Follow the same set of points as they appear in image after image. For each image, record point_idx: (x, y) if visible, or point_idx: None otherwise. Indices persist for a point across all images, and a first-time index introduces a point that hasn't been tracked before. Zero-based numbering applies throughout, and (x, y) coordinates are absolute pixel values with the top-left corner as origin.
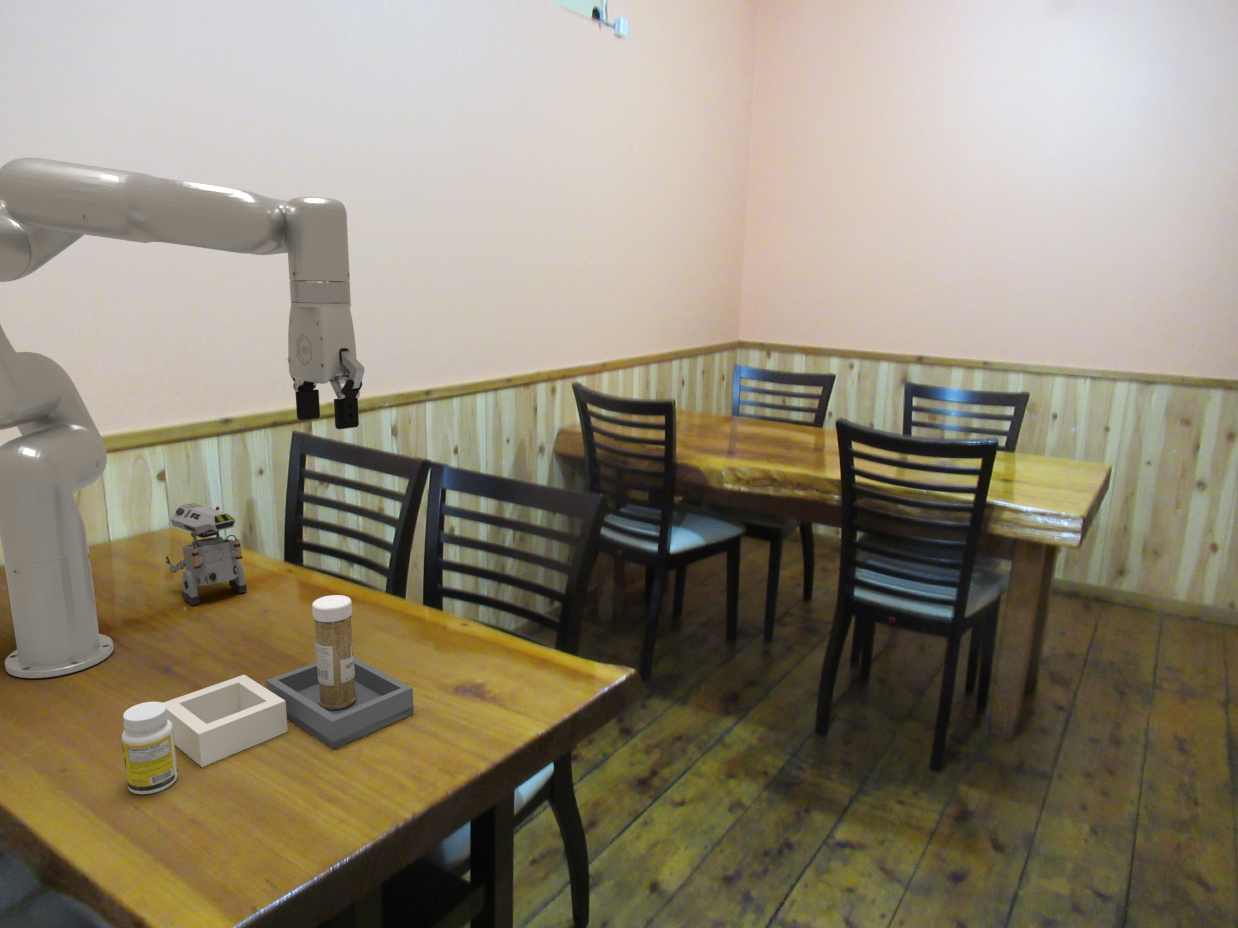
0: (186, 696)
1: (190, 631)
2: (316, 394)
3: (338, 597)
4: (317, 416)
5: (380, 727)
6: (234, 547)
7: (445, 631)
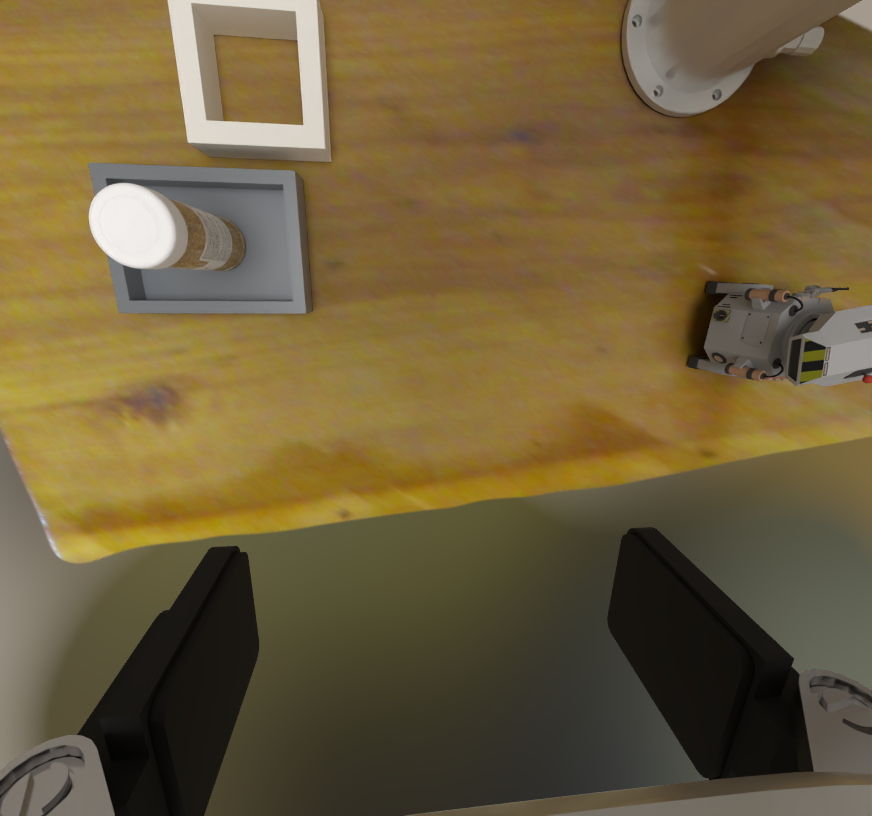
0: (312, 34)
1: (624, 232)
2: (693, 745)
3: (142, 248)
4: (612, 618)
5: None
6: (752, 368)
7: (343, 484)
